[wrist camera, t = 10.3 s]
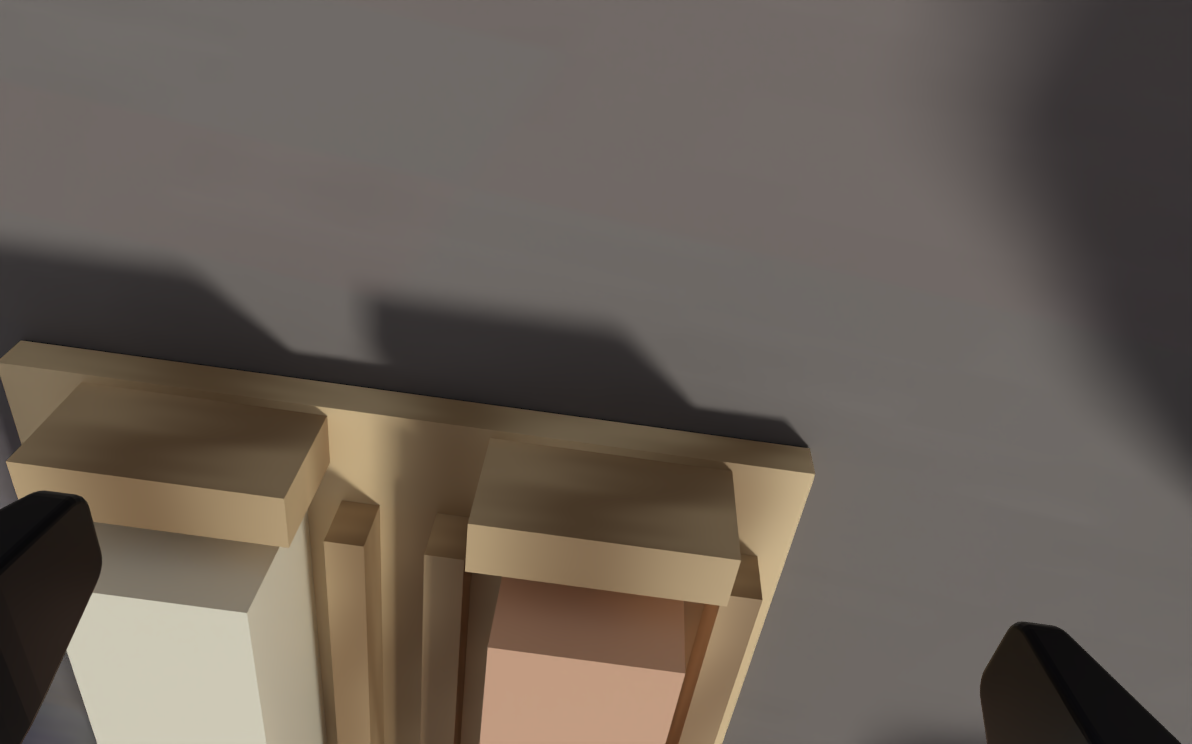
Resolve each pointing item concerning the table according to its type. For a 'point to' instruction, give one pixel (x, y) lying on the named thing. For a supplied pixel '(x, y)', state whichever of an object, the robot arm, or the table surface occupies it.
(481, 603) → the rack
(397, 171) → the table surface
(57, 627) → the robot arm
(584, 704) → the fired brick
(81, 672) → the long ivory plank
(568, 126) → the table surface
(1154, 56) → the table surface
